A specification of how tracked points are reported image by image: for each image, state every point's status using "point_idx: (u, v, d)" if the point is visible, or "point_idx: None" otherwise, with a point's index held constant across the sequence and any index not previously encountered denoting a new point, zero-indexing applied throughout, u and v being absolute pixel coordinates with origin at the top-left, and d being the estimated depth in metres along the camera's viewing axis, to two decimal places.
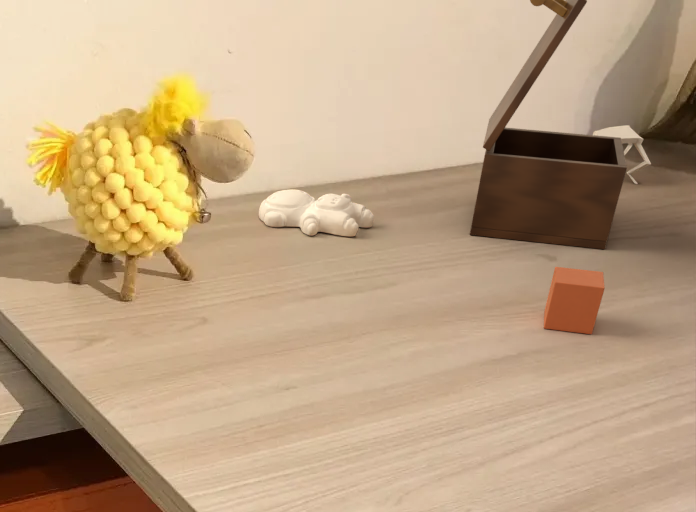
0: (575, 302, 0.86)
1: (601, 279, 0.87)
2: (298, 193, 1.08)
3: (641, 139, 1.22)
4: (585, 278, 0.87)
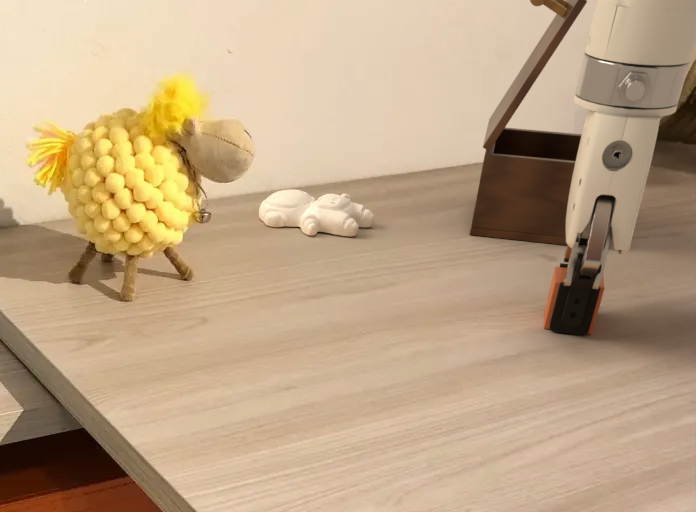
0: None
1: (601, 279, 0.87)
2: (298, 193, 1.08)
3: None
4: None
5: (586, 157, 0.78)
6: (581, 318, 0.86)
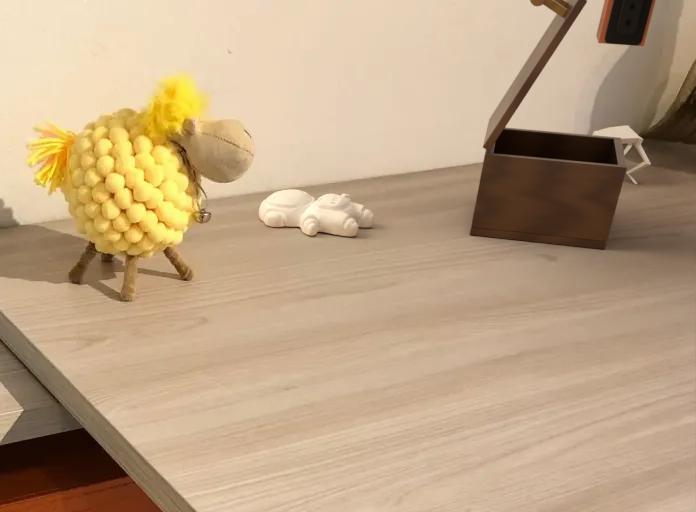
0: None
1: None
2: (298, 193, 1.08)
3: (641, 139, 1.22)
4: None
5: None
6: (636, 25, 0.92)
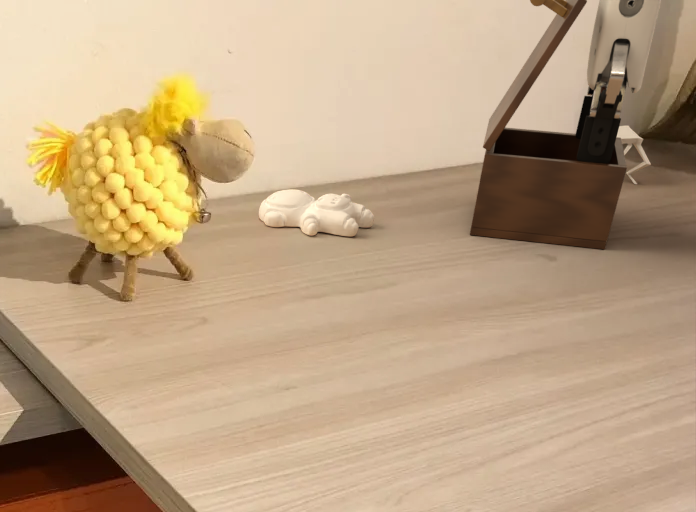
0: None
1: None
2: (298, 193, 1.08)
3: (641, 139, 1.22)
4: None
5: (605, 7, 0.95)
6: (604, 146, 1.00)
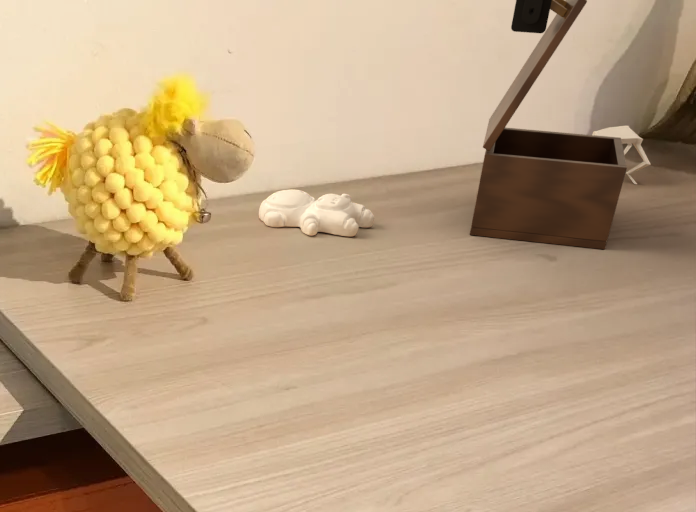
0: None
1: None
2: (298, 193, 1.08)
3: (640, 139, 1.22)
4: None
5: None
6: (538, 13, 0.96)
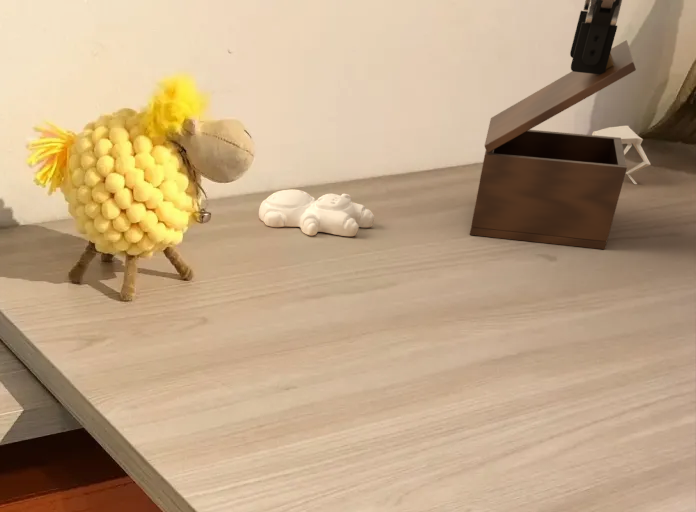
0: None
1: None
2: (298, 193, 1.08)
3: (640, 139, 1.22)
4: None
5: None
6: (599, 55, 0.97)
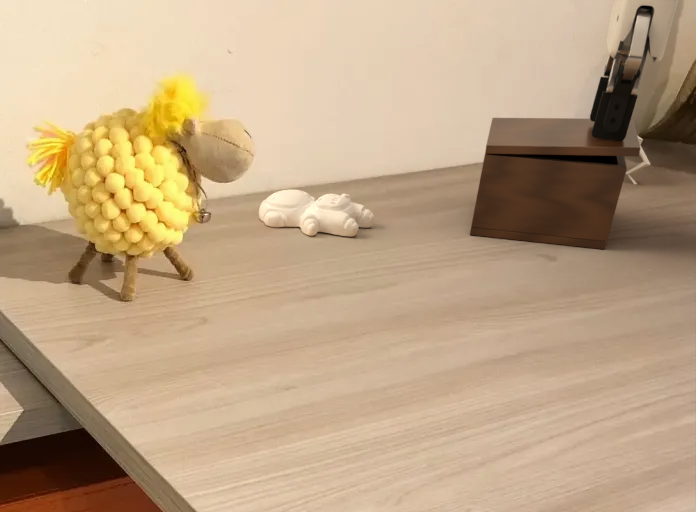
0: None
1: None
2: (298, 193, 1.08)
3: (640, 139, 1.22)
4: None
5: None
6: (620, 123, 1.00)
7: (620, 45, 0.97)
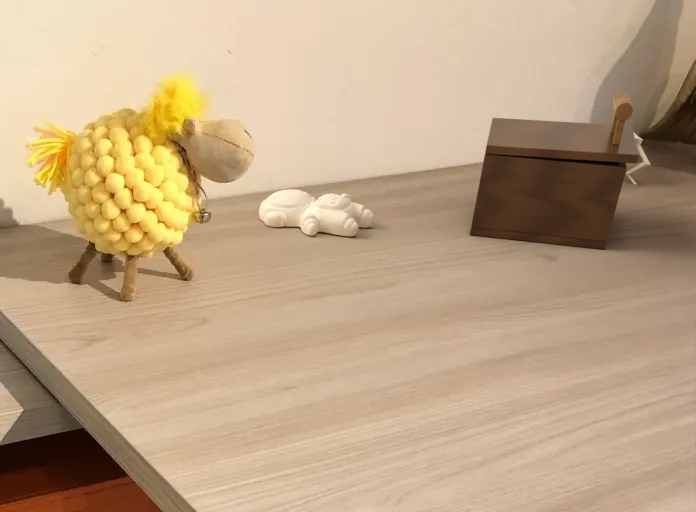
0: None
1: None
2: (298, 193, 1.08)
3: (640, 139, 1.22)
4: None
5: None
6: None
7: None
